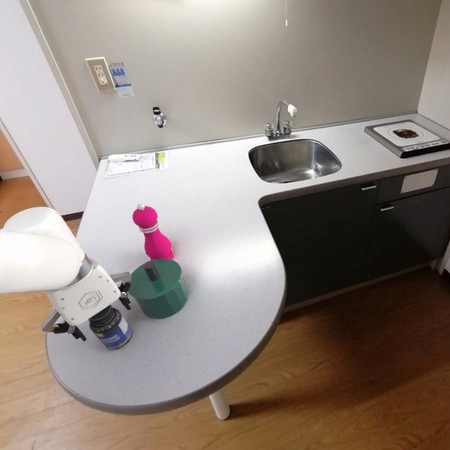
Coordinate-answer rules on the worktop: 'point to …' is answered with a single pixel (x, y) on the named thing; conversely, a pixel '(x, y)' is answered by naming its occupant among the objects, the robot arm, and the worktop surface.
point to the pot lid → (154, 279)
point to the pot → (165, 303)
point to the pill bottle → (110, 328)
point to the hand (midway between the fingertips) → (105, 321)
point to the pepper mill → (152, 233)
